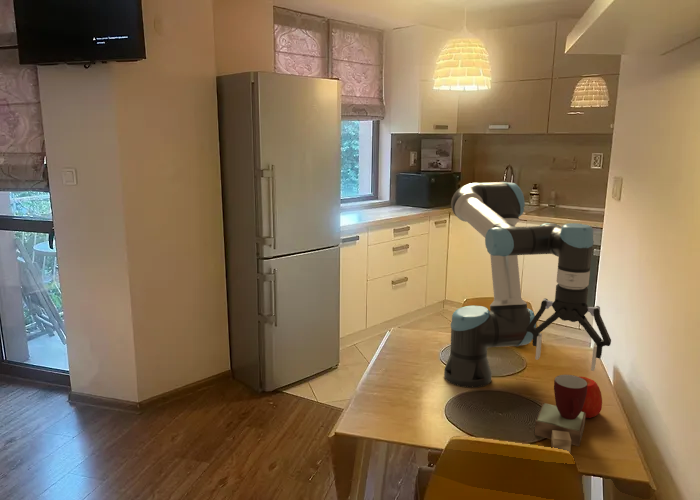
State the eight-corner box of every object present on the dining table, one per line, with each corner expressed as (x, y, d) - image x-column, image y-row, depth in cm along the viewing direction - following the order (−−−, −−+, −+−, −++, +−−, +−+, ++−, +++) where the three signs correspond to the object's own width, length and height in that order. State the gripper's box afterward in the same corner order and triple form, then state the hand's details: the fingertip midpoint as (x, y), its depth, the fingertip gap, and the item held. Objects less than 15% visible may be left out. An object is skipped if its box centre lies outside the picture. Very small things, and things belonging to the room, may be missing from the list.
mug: (594, 428, 135) (597, 392, 133) (563, 429, 135) (565, 393, 133) (577, 407, 145) (579, 374, 143) (547, 408, 145) (549, 374, 143)
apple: (560, 418, 149) (563, 383, 146) (559, 400, 159) (562, 367, 156) (602, 425, 145) (606, 389, 143) (599, 406, 155) (602, 372, 152)
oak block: (552, 452, 133) (554, 438, 132) (551, 444, 136) (552, 430, 136) (569, 455, 132) (571, 440, 131) (567, 446, 136) (568, 432, 135)
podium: (534, 434, 140) (535, 420, 140) (542, 416, 150) (543, 402, 149) (579, 446, 135) (580, 431, 134) (584, 426, 144) (585, 411, 143)
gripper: (518, 282, 137) (512, 358, 142) (626, 296, 125) (616, 379, 129) (524, 275, 143) (519, 348, 148) (628, 288, 131) (618, 367, 136)
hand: (564, 363), depth 139 cm, fingers open, 13 cm apart
